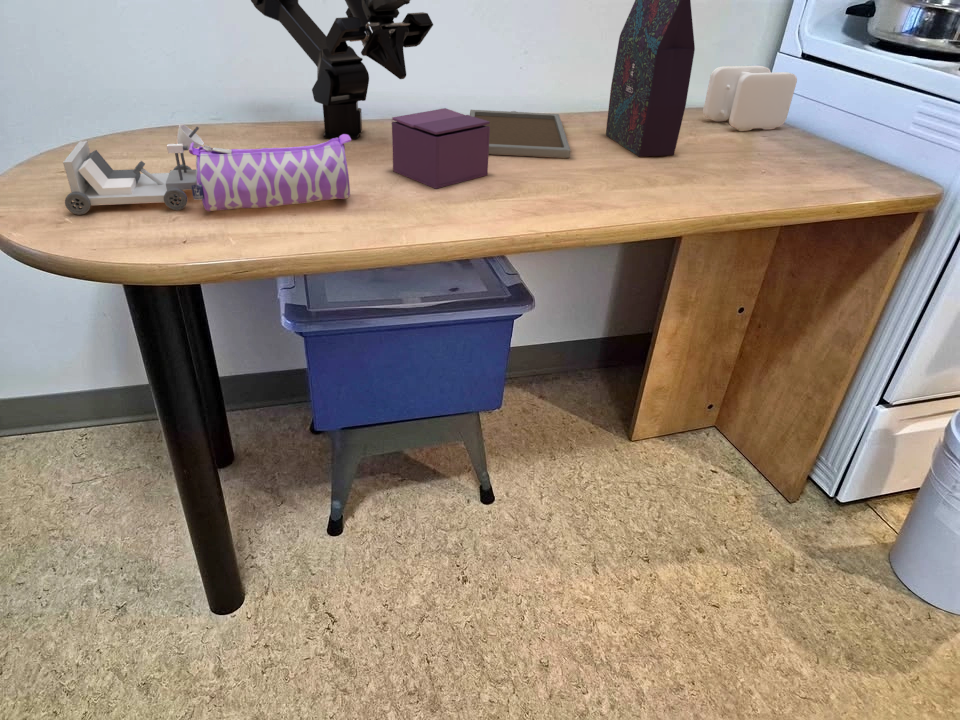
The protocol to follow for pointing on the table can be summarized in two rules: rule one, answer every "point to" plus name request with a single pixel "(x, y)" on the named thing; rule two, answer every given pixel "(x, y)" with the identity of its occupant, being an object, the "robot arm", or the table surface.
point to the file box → (442, 150)
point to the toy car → (128, 178)
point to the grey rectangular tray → (525, 133)
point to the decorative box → (651, 77)
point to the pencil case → (270, 175)
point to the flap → (426, 117)
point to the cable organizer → (749, 96)
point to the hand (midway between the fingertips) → (403, 77)
